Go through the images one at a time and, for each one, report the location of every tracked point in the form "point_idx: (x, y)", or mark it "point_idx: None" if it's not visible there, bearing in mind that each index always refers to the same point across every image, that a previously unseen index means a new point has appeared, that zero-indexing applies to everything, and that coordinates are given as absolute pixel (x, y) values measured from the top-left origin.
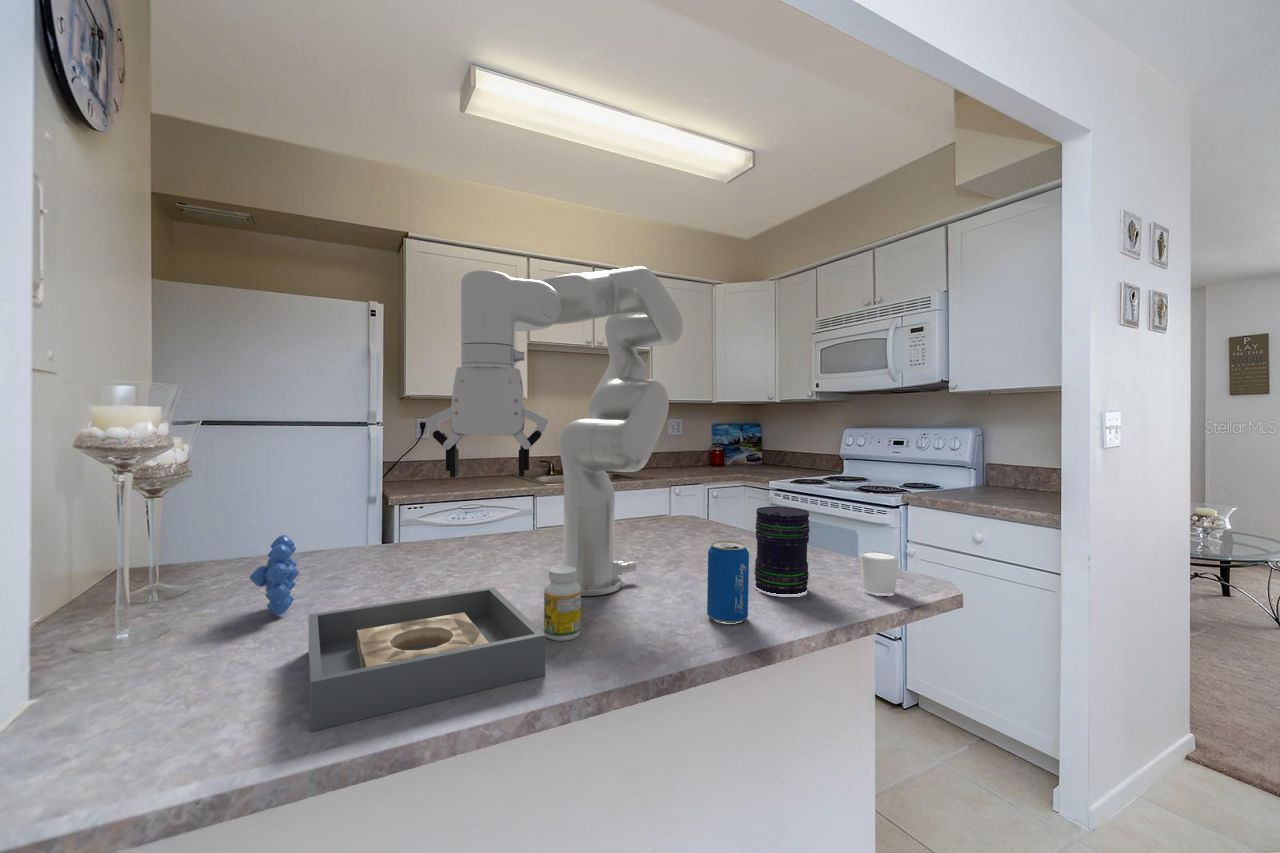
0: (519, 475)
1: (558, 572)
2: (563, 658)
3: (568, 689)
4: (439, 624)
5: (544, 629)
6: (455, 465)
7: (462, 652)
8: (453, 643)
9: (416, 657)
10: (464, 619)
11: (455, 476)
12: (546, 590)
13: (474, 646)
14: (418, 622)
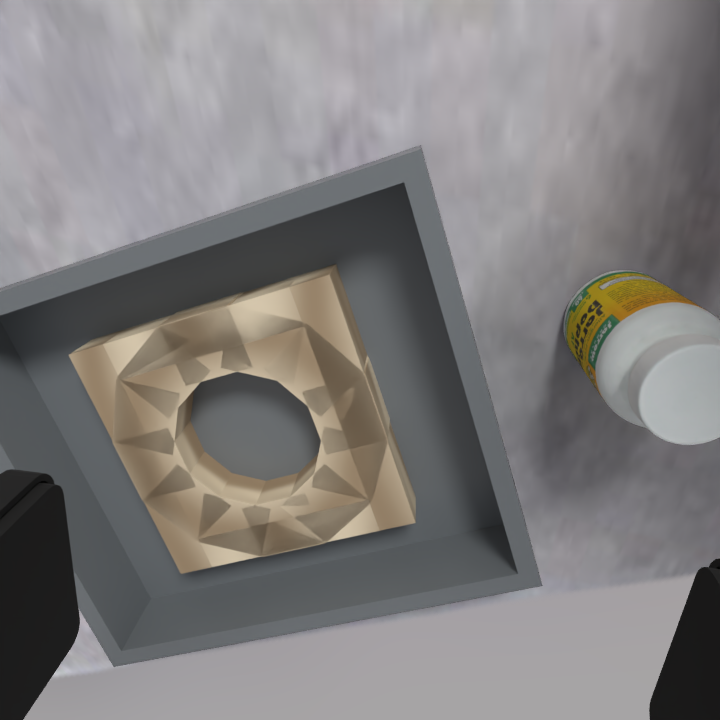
0: (656, 714)
1: (666, 434)
2: (582, 460)
3: (560, 583)
4: (272, 359)
5: (566, 333)
6: (18, 708)
7: (354, 620)
8: (325, 486)
9: (266, 624)
10: (336, 335)
11: (78, 616)
12: (601, 389)
13: (377, 604)
14: (211, 332)
